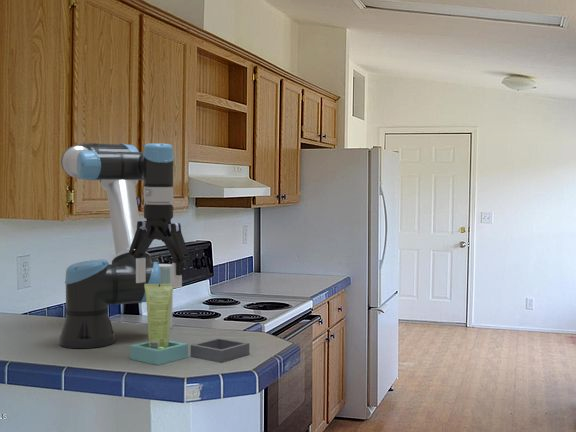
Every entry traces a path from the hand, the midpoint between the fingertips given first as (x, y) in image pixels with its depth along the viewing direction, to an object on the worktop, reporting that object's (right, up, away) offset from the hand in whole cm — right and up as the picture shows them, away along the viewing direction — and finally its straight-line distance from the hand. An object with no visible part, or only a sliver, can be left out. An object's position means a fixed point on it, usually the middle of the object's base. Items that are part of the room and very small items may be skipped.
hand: (158, 285), depth 187 cm
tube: (0, -19, 0) cm, 19 cm away
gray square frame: (+16, -19, +4) cm, 25 cm away
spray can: (-6, -18, +40) cm, 44 cm away
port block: (0, -19, 0) cm, 19 cm away
